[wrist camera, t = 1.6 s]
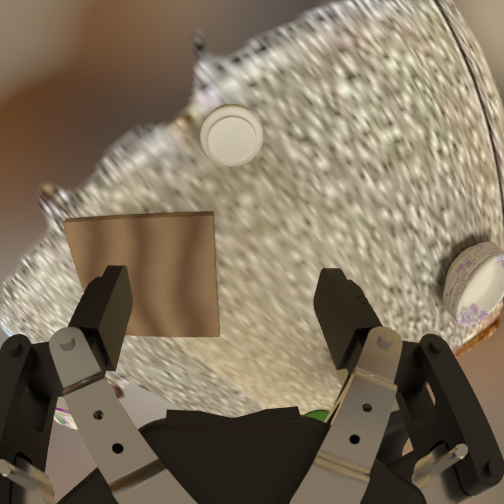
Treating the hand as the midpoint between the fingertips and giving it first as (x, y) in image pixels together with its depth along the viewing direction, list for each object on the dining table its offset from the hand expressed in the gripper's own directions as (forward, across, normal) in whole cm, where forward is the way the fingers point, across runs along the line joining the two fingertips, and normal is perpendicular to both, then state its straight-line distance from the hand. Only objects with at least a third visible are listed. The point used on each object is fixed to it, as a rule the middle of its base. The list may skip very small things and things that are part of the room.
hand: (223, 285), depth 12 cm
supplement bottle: (+23, -1, -3) cm, 23 cm away
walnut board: (+23, +10, +17) cm, 30 cm away
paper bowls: (+22, -44, +14) cm, 51 cm away
